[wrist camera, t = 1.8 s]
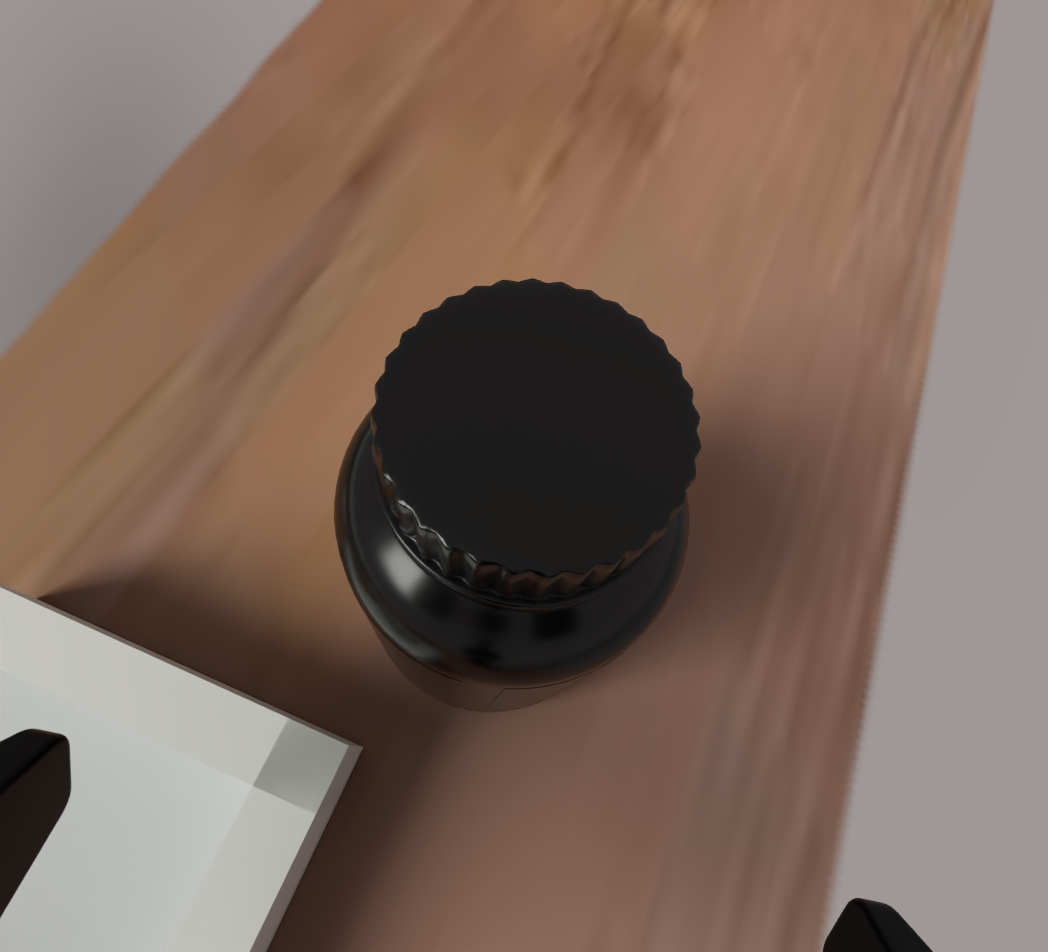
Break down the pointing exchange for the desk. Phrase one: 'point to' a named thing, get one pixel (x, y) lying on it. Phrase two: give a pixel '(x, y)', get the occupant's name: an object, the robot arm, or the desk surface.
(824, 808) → the desk surface
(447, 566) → the supplement bottle
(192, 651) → the desk surface
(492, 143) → the desk surface
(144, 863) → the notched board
